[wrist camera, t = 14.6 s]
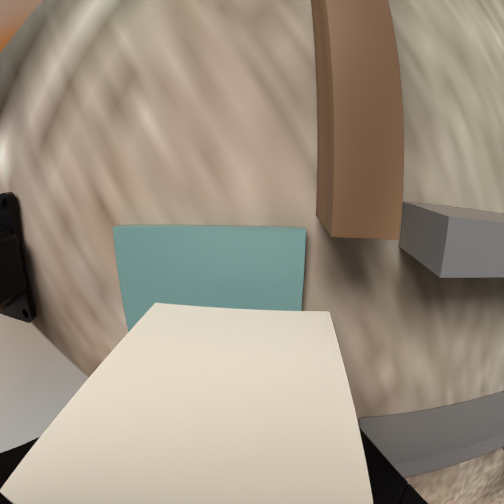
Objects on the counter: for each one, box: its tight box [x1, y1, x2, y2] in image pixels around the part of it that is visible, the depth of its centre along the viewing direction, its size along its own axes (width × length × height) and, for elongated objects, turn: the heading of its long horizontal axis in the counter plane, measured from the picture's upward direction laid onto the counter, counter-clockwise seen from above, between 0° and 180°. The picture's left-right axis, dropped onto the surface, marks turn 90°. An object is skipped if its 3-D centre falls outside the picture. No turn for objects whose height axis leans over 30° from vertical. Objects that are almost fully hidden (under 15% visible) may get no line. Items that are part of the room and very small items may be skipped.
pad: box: [113, 225, 306, 331], centre depth 10 cm, size 6×9×1 cm
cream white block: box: [0, 303, 373, 504], centre depth 5 cm, size 5×5×7 cm
